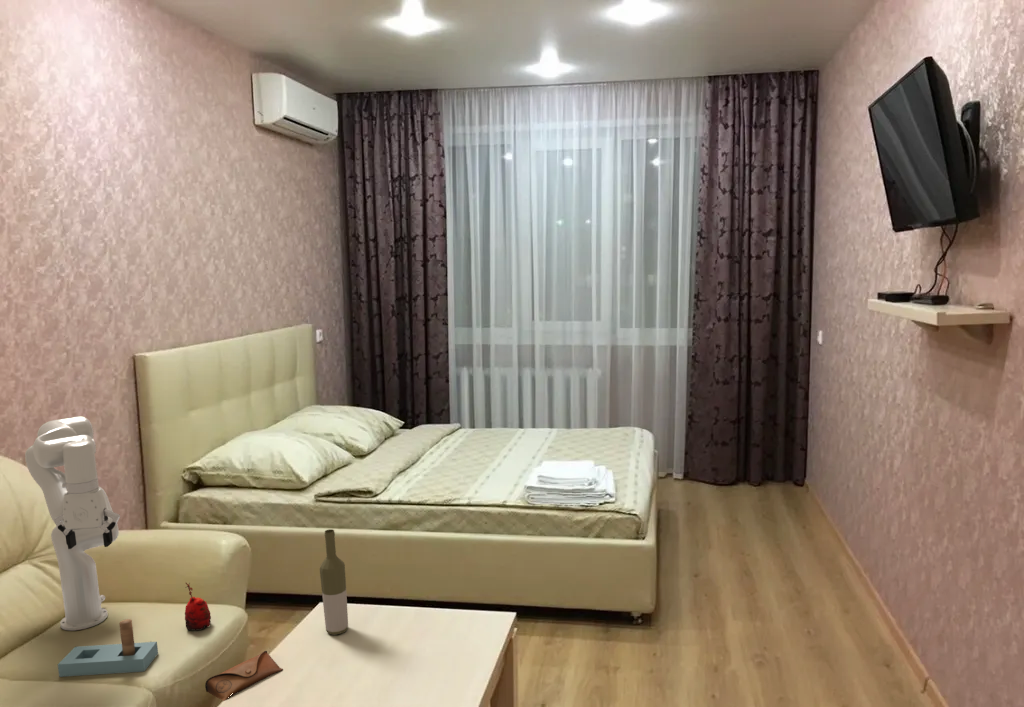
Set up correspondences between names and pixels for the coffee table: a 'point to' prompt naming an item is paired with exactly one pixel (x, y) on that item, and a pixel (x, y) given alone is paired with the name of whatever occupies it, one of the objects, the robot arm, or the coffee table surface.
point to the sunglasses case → (242, 676)
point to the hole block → (107, 659)
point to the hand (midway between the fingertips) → (90, 546)
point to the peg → (127, 637)
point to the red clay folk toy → (196, 613)
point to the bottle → (333, 588)
